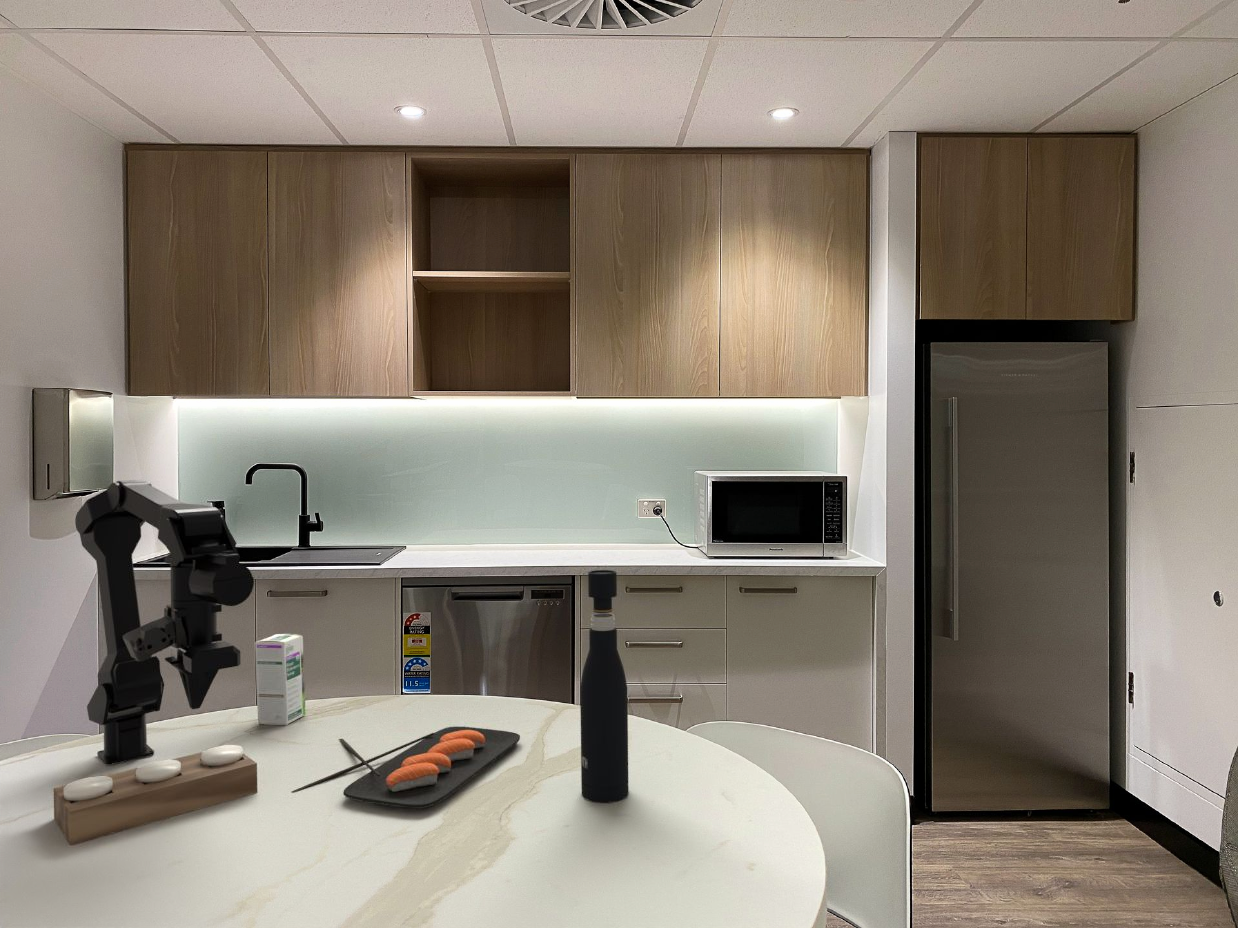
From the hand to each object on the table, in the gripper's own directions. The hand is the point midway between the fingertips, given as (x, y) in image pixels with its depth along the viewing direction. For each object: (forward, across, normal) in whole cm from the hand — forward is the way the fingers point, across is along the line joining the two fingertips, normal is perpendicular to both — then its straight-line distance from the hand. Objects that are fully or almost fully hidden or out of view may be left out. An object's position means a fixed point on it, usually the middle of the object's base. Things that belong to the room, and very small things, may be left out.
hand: (195, 708), depth 117 cm
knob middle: (+10, +4, -6) cm, 12 cm away
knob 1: (+10, +3, -14) cm, 17 cm away
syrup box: (+12, -20, +20) cm, 31 cm away
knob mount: (+11, +4, -6) cm, 13 cm away
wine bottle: (+10, +43, +38) cm, 59 cm away
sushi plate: (+11, +13, +24) cm, 29 cm away
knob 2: (+10, +4, +2) cm, 11 cm away
